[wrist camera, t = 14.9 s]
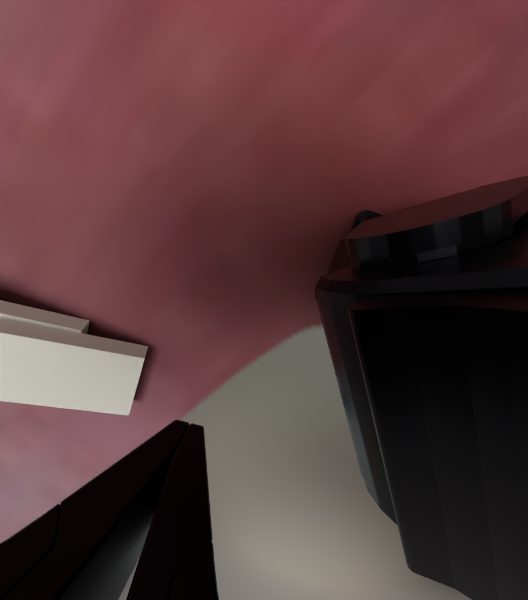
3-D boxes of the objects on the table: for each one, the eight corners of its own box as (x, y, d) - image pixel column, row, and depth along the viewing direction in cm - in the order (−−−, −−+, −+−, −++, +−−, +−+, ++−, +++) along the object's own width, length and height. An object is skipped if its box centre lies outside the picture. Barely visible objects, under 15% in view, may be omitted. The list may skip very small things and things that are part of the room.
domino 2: (144, 358, 19) (-20, 328, 16) (128, 415, 20) (-26, 397, 18) (148, 346, 20) (-2, 317, 18) (133, 400, 22) (-9, 381, 19)
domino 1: (81, 330, 19) (-93, 293, 16) (69, 389, 20) (-94, 364, 18) (90, 320, 20) (-68, 284, 18) (77, 376, 22) (-71, 351, 19)
